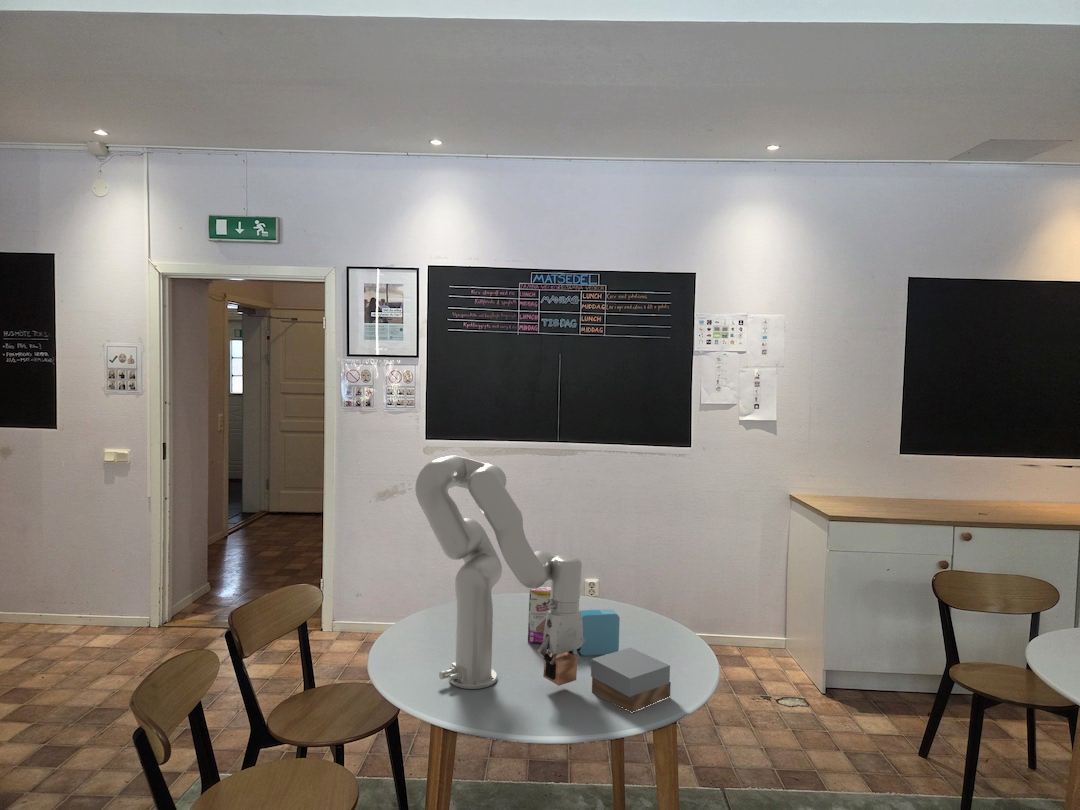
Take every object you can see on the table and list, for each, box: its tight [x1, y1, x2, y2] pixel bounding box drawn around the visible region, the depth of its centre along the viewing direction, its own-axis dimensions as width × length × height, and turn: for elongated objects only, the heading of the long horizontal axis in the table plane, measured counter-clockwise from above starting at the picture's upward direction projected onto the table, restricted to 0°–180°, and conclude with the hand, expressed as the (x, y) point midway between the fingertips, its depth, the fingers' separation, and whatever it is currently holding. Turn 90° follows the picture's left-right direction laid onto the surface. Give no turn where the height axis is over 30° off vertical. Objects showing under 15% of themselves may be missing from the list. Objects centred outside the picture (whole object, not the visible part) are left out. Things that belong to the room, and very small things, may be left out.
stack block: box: [542, 652, 579, 687], centre depth 170 cm, size 6×6×6 cm
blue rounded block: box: [578, 608, 621, 657], centre depth 196 cm, size 12×4×12 cm, turn 102°
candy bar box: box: [527, 586, 551, 645], centre depth 203 cm, size 11×5×16 cm, turn 84°
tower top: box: [590, 647, 671, 697], centre depth 168 cm, size 14×14×4 cm
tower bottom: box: [591, 677, 672, 712], centre depth 169 cm, size 14×14×4 cm
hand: (560, 673), depth 170 cm, fingers closed on stack block, 6 cm apart
